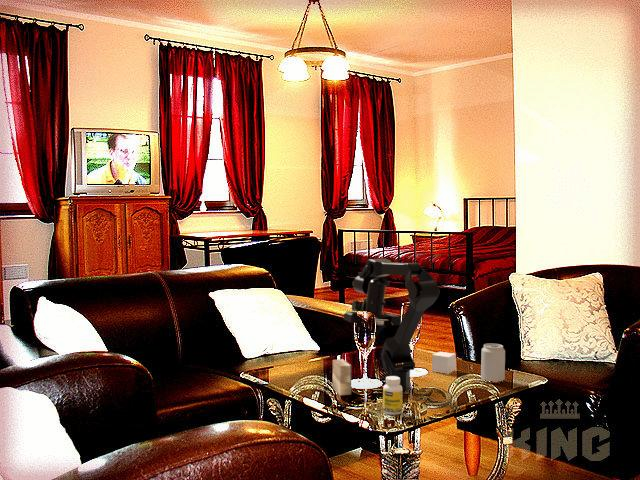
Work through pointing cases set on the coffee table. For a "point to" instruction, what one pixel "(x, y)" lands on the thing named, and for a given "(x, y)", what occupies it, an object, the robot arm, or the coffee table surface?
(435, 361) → the white cube
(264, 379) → the coffee table surface
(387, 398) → the supplement bottle
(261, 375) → the coffee table surface
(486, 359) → the can
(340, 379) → the tile
